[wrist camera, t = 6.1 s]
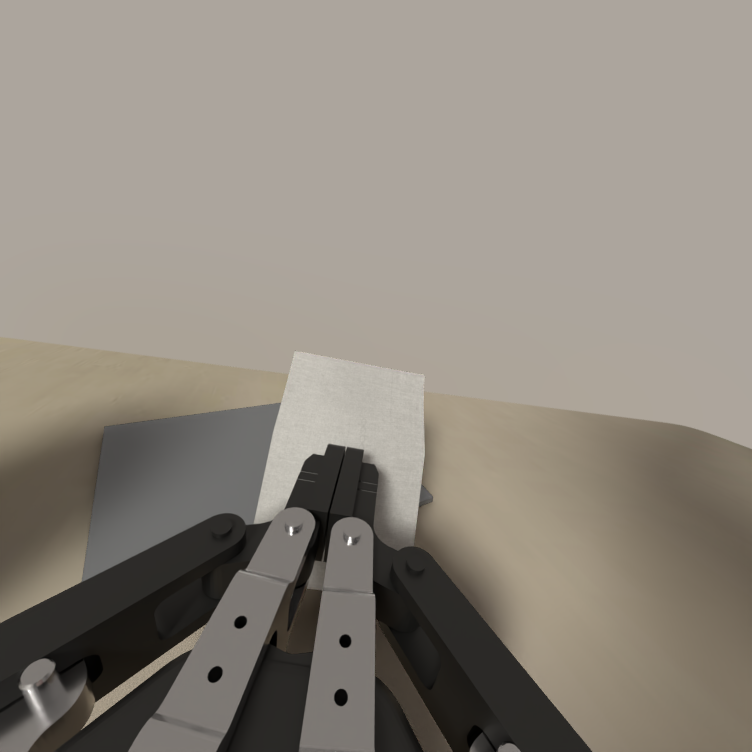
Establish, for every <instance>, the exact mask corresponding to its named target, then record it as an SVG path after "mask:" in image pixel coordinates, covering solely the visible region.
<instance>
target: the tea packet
mask: <svg viewBox="0 0 752 752" xmlns="http://www.w3.org/2000/svg"><path fill="white" fill-rule="evenodd" d="M328 444H334V445H340V446H346V449H347V447H352V448H358V449H363V450H364V454H363V460H362V462H364V463H370V464H375V466H376V468H377V471H378V473H379V478H378V487H377V497H376V506H375V515H374V531H375V533H376V535H377V537H378V538H379V539H380V540H381V541H382V542H383V543H384V544H386V545H387V546H389V547H391V548H393V549H395V550H397V551H399V550H400V549H401V548H404V547H408V546H413V547H414V540H415V532H416V523H417V515H418V507H419V498H420V490H421V482H422V473H423V465H424V457H425V446H424V375H421V374H416V373H410V372H405V371H400V370H395V369H389V368H384V367H379V366H373V365H368V364H362V363H357V362H352V361H347V360H340V359H336V358H330V357H325V356H319V355H315V354H309V353H304V352H299V351H295V352H294V357H293V361H292V365H291V369H290V372H289V376H288V380H287V384H286V387H285V391H284V395H283V398H282V402H281V405H280V409H279V413H278V416H277V420H276V423H275V427H274V431H273V435H272V440H271V444H270V449H269V454H268V459H267V463H266V468H265V473H264V478H263V482H262V487H261V492H260V496H259V501H258V506H257V511H256V515H255V520H254V524H260V523H265V522H269V521H271V520H273V519H274V517H275V516H276V515H277V514H278V513H279V512H281V511H282V510H284V509H285V507H286V504H287V502H288V499H289V497H290V495H291V492H292V490H293V487H294V485H295V483H296V480H297V478H298V475H299V473H300V471H301V468H302V466H303V464H304V461H305V460H306V459H307V458H309V457H310V456H311V455H312V454H318V455H324V454H325V451H326V448H327V445H328ZM345 452H346V450H345ZM325 546H326V545H325ZM324 553H325V549H324ZM324 553H323V557H322V561H315V562H314V566H313V569H312V573H311V575H310V577H309V583H308V586H307V589H315V590H323V584H324V577H325V571H326V564H327V562H323V561H324Z"/></svg>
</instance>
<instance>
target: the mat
mask: <svg viewBox="0 0 752 752" xmlns="http://www.w3.org/2000/svg"><path fill="white" fill-rule="evenodd" d="M280 405H281V403H276V404H269V405H261V406H254V407H246V408H239V409H231V410H224V411H217V412H209V413H202V414H194V415H187V416H179V417H172V418H165V419H157V420H150V421H142V422H135V423H128V424H120V425H113V426H105V427H104V434H103V441H102V448H101V454H100V461H99V468H98V475H97V482H96V489H95V495H94V502H93V509H92V516H91V523H90V530H89V536H88V543H87V550H86V557H85V564H84V570H83V577H82V582H83V581H85V580H87V579H89V578H91V577H93V576H95V575H97V574H99V573H101V572H103V571H105V570H107V569H109V568H111V567H113V566H115V565H117V564H119V563H121V562H123V561H125V560H127V559H129V558H131V557H133V556H135V555H137V554H139V553H141V552H143V551H145V550H147V549H149V548H151V547H153V546H155V545H157V544H159V543H161V542H163V541H165V540H167V539H169V538H171V537H173V536H175V535H177V534H179V533H181V532H183V531H185V530H186V529H188V528H190V527H192V526H194V525H196V524H198V523H200V522H202V521H204V520H206V519H208V518H210V517H212V516H215V515H218V514H222V513H232V514H236V515H238V516H240V517H241V518H242V519H243V520H244V522H245V524H246V525H250V524H254V520H255V515H256V511H257V506H258V501H259V496H260V492H261V487H262V482H263V478H264V473H265V468H266V463H267V459H268V454H269V449H270V444H271V440H272V435H273V431H274V427H275V423H276V420H277V416H278V413H279V409H280ZM432 500H433V496H432V495H431V494H430V493H429V492H428V491H427V490H426V488H425V487H424V486H423V485H422V484H421V490H420V498H419V506H422V505H424V504H427V503H430V502H432Z"/></svg>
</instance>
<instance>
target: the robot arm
mask: <svg viewBox="0 0 752 752" xmlns="http://www.w3.org/2000/svg"><path fill="white" fill-rule="evenodd" d="M345 450H346V452H345ZM363 454H364V450H363V449H358V448H352V447H347V449H346V446H340V445H334V444H328V445H327V448H326V451H325V454H324V455H318V454H312V455H311V456H310V457H309V458H307V459H306V460H305V461H304V464H303V466H302V468H301V471H300V473H299V475H298V478H297V480H296V483H295V485H294V487H293V490H292V492H291V495H290V497H289V499H288V502H287V504H286V507H285V509H284V510H282V511H281V512H279V513H278V514H277V515H276V516H275V517H274V519H273V520H271V521H269V522H265V523H260V524H250V525H246V524H245V522H244V520H243V519H242V518H241V517H240V516H238V515H236V514H232V513H222V514H218V515H215V516H212V517H210V518H208V519H206V520H204V521H202V522H200V523H198V524H196V525H194V526H192V527H190V528H188V529H186V530H185V531H183V532H181V533H179V534H177V535H175V536H173V537H171V538H169V539H167V540H165V541H163V542H161V543H159V544H157V545H155V546H153V547H151V548H149V549H147V550H145V551H143V552H141V553H139V554H137V555H135V556H133V557H131V558H129V559H127V560H125V561H123V562H121V563H119V564H117V565H115V566H113V567H111V568H109V569H107V570H105V571H103V572H101V573H99V574H97V575H95V576H93V577H91V578H89V579H87V580H85V581H83V582H81V583H79V584H77V585H75V586H73V587H71V588H69V589H67V590H65V591H63V592H61V593H59V594H57V595H55V596H53V597H51V598H49V599H47V600H45V601H43V602H41V603H39V604H37V605H35V606H33V607H31V608H29V609H27V610H25V611H23V612H21V613H19V614H17V615H15V616H13V617H11V618H9V619H8V620H6V621H4V622H2V623H0V752H423V750H422V748H421V746H420V744H419V742H418V740H417V738H416V736H415V734H414V732H413V730H412V728H411V726H410V724H409V722H408V720H407V718H406V716H405V714H404V712H403V710H402V708H401V706H400V704H399V703H398V701H397V700H396V698H395V697H394V695H393V693H392V692H391V691H390V690H389V689H388V687H387V686H386V685H385V684H384V683H383V682H382V681H381V680H380V679H379V678H377V677H376V676H375V619H377V620H379V623H380V627H381V629H382V631H383V633H384V634H385V636H386V638H387V640H388V641H389V643H390V645H391V646H392V648H393V650H394V652H395V653H396V655H397V657H398V658H399V660H400V662H401V663H402V665H403V667H404V669H405V670H406V672H407V674H408V675H409V677H410V679H411V681H412V682H413V684H414V686H415V687H416V689H417V691H418V693H419V694H420V696H421V698H422V699H423V701H424V703H425V704H426V706H427V708H428V710H429V711H430V713H431V715H432V716H433V718H434V720H435V722H436V723H437V725H438V727H439V728H440V730H441V732H442V733H443V735H444V737H445V739H446V740H447V742H448V744H449V745H450V747H451V749H452V751H453V752H592V751H591V750H590V748H589V747H588V746H587V745H586V744H585V742H584V741H583V740H582V739H581V737H580V736H579V735H578V734H577V733H576V731H575V730H574V729H573V728H572V727H571V725H570V724H569V723H568V722H567V720H566V719H565V718H564V717H563V716H562V714H561V713H560V712H559V711H558V709H557V708H556V707H555V706H554V705H553V703H552V702H551V701H550V700H549V699H548V697H547V696H546V695H545V694H544V692H543V691H542V690H541V689H540V688H539V686H538V685H537V684H536V683H535V682H534V680H533V679H532V678H531V677H530V675H529V674H528V673H527V672H526V671H525V669H524V668H523V667H522V666H521V665H520V663H519V662H518V661H517V660H516V658H515V657H514V656H513V655H512V654H511V652H510V651H509V650H508V649H507V648H506V646H505V645H504V644H503V643H502V641H501V640H500V639H499V638H498V637H497V635H496V634H495V633H494V632H493V631H492V629H491V628H490V627H489V626H488V624H487V623H486V622H485V621H484V620H483V618H482V617H481V616H480V615H479V613H478V612H477V611H476V610H475V609H474V607H473V606H472V605H471V604H470V603H469V601H468V600H467V599H466V598H465V596H464V595H463V594H462V593H461V592H460V590H459V589H458V588H457V587H456V586H455V584H454V583H453V582H452V581H451V579H450V578H449V577H448V576H447V575H446V573H445V572H444V571H443V570H442V569H441V567H440V566H439V565H438V564H437V562H436V561H435V560H434V559H433V558H432V556H431V555H430V554H429V553H427V552H426V551H424V550H423V549H421V548H418V547H413V546H408V547H404V548H401V549H400V550H399V551H397V550H395V549H393V548H391V547H389V546H387V545H386V544H384V543H383V542H382V541H381V540H380V539H379V538H378V537H377V535H376V533H375V531H374V515H375V506H376V497H377V487H378V478H379V473H378V471H377V468H376V466H375V464H370V463H364V462H362V460H363ZM325 545H326V546H325ZM324 549H325V553H324ZM323 553H324V561H323V562H327V564H326V571H325V577H324V584H323V590H322V597H321V604H320V610H319V617H318V624H317V631H316V638H315V644H314V651H313V652H309V653H300V654H289V653H286V648H287V644H288V640H289V637H290V634H291V631H292V628H293V626H294V623H295V620H296V617H297V614H298V611H299V609H300V606H301V603H302V600H303V597H304V594H305V591H306V589H307V586H308V583H309V577H310V575H311V573H312V569H313V566H314V562H315V561H322V557H323ZM206 623H207V625H206V627H205V629H204V630H203V632H202V634H201V636H200V637H199V639H198V641H197V643H196V644H195V646H194V648H193V649H192V650H190V651H188V652H186V653H184V654H182V655H180V656H179V657H177V658H175V659H174V660H172V661H171V662H169V663H168V664H166V665H165V666H164V667H162V668H161V669H160V670H159V671H157V672H156V673H155V674H153V675H152V676H151V677H150V678H148V679H147V680H146V681H144V682H143V683H142V684H140V685H139V686H138V687H137V688H135V689H134V690H133V691H131V692H130V693H129V694H128V695H126V696H125V697H124V698H122V699H121V700H120V701H118V702H117V703H116V704H115V705H113V706H112V707H111V708H109V709H108V710H107V711H106V712H104V713H103V714H102V715H100V716H99V717H98V718H96V719H95V720H94V721H93V722H91V723H90V724H89V725H87V726H86V727H85V728H83V727H84V725H85V724H86V722H87V721H88V719H89V717H90V715H91V713H92V711H93V708H94V704H95V702H97V701H98V700H99V699H101V698H102V697H104V696H105V695H106V694H108V693H109V692H111V691H112V690H113V689H115V688H116V687H118V686H119V685H121V684H122V683H123V682H125V681H126V680H128V679H129V678H130V677H132V676H133V675H135V674H136V673H137V672H139V671H140V670H142V669H143V668H144V667H146V666H147V665H149V664H150V663H152V662H153V661H154V660H156V659H157V658H159V657H160V656H161V655H163V654H164V653H166V652H167V651H168V650H170V649H171V648H173V647H174V646H175V645H177V644H178V643H180V642H181V641H183V640H184V639H185V638H187V637H188V636H190V635H191V634H192V633H194V632H195V631H197V630H198V629H199V628H201V627H202V626H204V625H205V624H206ZM82 728H83V729H82ZM81 729H82V730H81Z"/></svg>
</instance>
